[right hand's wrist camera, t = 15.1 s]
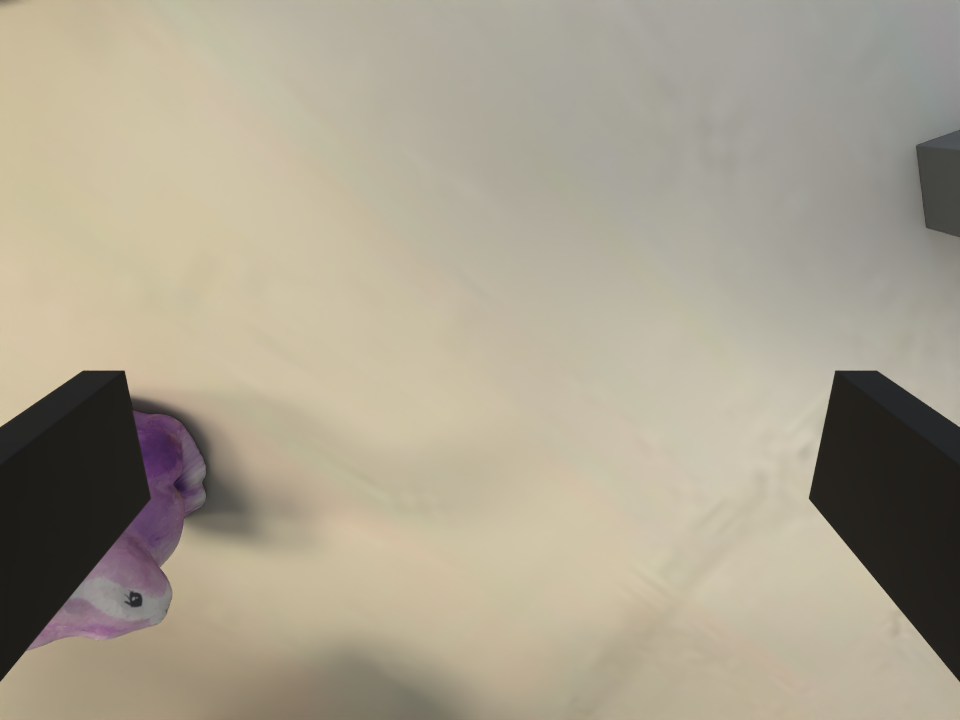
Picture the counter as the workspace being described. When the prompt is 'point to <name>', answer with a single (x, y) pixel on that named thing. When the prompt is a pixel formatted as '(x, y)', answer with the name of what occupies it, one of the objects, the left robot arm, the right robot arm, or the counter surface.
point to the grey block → (941, 182)
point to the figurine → (139, 543)
